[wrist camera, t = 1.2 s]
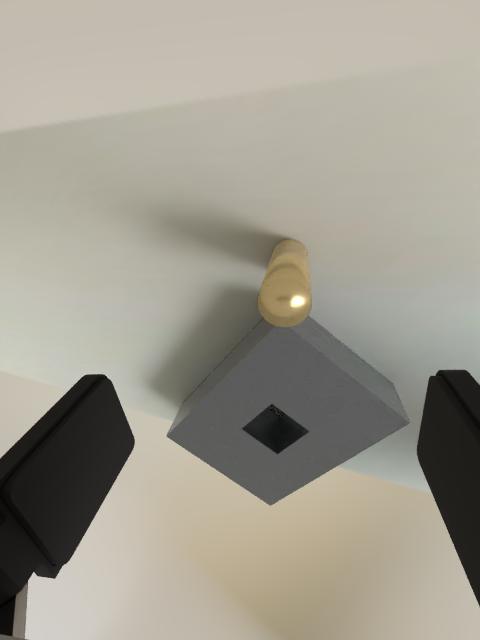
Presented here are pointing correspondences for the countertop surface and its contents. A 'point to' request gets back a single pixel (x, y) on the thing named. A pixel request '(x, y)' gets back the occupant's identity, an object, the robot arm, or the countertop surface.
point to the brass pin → (286, 286)
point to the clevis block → (286, 409)
